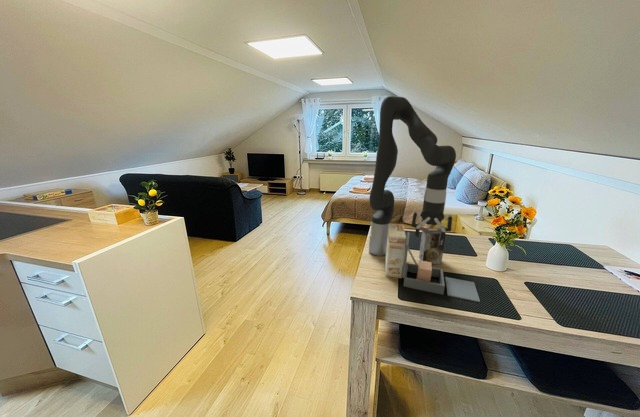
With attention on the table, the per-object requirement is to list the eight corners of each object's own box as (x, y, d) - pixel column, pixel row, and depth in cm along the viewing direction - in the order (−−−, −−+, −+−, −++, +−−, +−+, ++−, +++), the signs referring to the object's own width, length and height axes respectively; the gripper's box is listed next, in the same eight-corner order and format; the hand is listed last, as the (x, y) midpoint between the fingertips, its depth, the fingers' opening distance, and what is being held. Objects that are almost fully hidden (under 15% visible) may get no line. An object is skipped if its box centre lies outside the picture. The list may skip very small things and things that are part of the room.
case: (400, 285, 103) (405, 244, 97) (403, 269, 115) (407, 232, 109) (443, 294, 97) (450, 251, 91) (441, 277, 109) (447, 237, 103)
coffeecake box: (402, 278, 108) (406, 237, 102) (385, 276, 110) (388, 236, 104) (400, 261, 122) (403, 224, 116) (385, 259, 123) (388, 223, 117)
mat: (447, 295, 97) (447, 294, 97) (444, 277, 108) (445, 276, 108) (479, 302, 93) (480, 301, 93) (473, 283, 104) (474, 282, 104)
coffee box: (436, 257, 125) (441, 228, 120) (441, 264, 119) (446, 233, 114) (418, 257, 126) (422, 227, 121) (421, 263, 120) (426, 232, 115)
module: (416, 285, 104) (418, 268, 101) (416, 276, 110) (418, 260, 107) (429, 287, 102) (431, 270, 99) (429, 278, 108) (431, 262, 106)
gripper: (414, 200, 94) (409, 239, 99) (456, 204, 89) (449, 244, 94) (415, 195, 100) (410, 232, 105) (454, 198, 95) (447, 237, 100)
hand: (429, 238), depth 99 cm, fingers open, 8 cm apart
